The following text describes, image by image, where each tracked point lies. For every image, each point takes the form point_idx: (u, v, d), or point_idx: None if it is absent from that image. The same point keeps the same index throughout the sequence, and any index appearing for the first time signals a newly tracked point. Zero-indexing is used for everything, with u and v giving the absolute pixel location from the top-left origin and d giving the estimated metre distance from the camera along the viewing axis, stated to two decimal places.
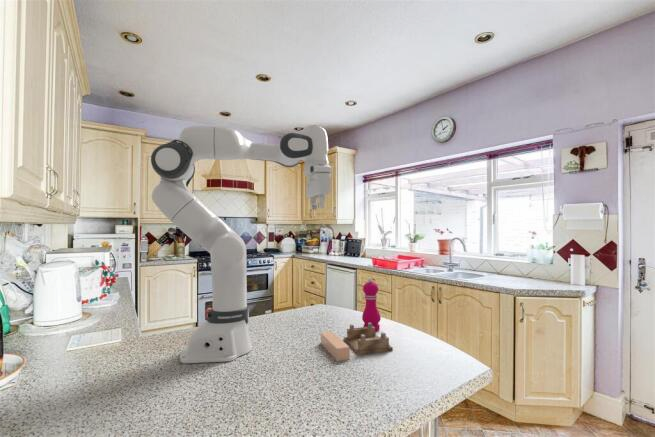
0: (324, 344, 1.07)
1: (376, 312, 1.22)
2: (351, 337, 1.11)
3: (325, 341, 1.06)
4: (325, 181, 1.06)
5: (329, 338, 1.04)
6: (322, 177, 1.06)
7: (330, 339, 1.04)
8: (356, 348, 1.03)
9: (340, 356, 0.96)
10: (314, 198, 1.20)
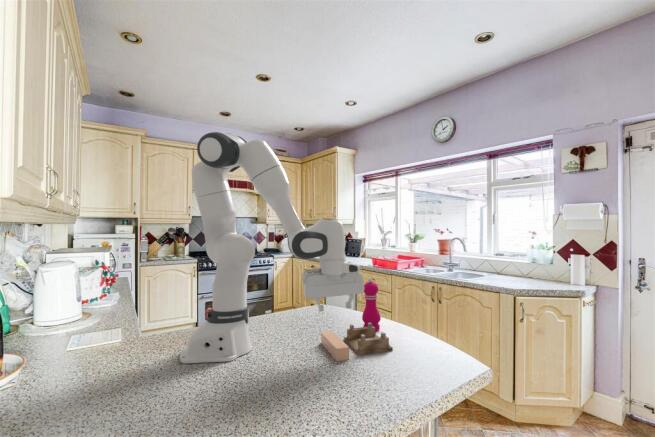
0: (324, 344, 1.07)
1: (376, 312, 1.22)
2: (351, 337, 1.11)
3: (325, 341, 1.06)
4: None
5: (329, 338, 1.04)
6: None
7: (330, 339, 1.04)
8: (356, 348, 1.03)
9: (340, 356, 0.96)
10: None
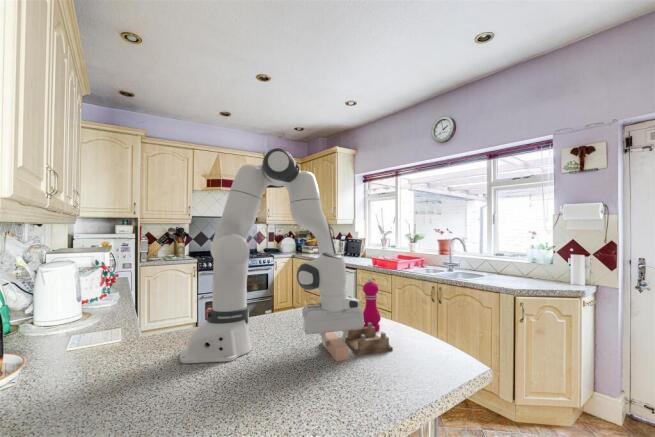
0: None
1: (376, 312, 1.22)
2: (351, 337, 1.11)
3: None
4: None
5: (330, 338, 1.04)
6: None
7: (330, 338, 1.04)
8: (356, 348, 1.03)
9: (339, 356, 0.96)
10: None
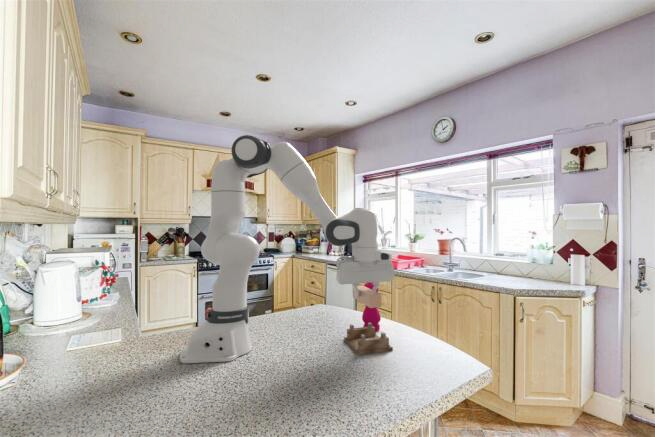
0: (356, 296, 1.12)
1: (376, 312, 1.22)
2: (351, 337, 1.11)
3: None
4: None
5: (361, 289, 1.09)
6: None
7: (362, 290, 1.08)
8: (356, 348, 1.03)
9: (373, 303, 1.00)
10: None
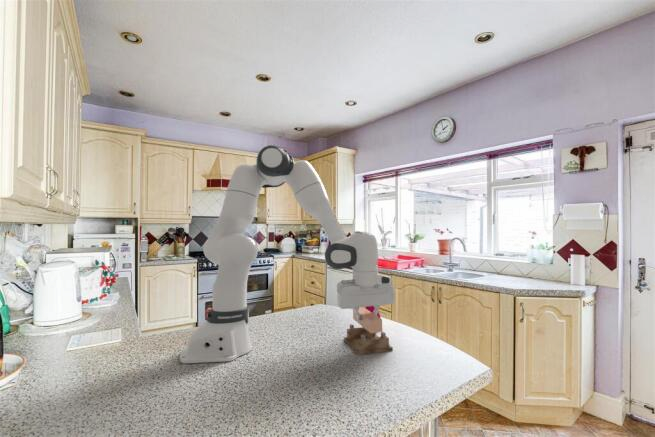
0: None
1: None
2: (351, 337, 1.11)
3: None
4: None
5: (362, 312, 1.09)
6: None
7: (363, 313, 1.09)
8: (356, 348, 1.03)
9: (373, 328, 1.01)
10: None
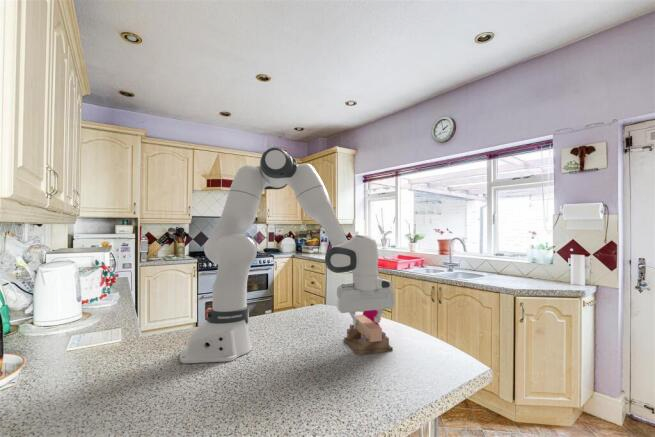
0: (357, 326, 1.12)
1: (376, 312, 1.22)
2: (351, 337, 1.11)
3: None
4: None
5: (362, 321, 1.09)
6: None
7: (363, 321, 1.08)
8: (356, 348, 1.03)
9: (373, 337, 1.00)
10: None
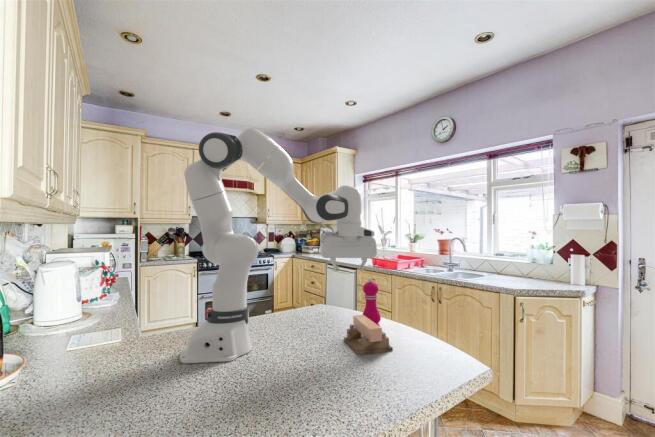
0: (357, 326, 1.12)
1: (376, 312, 1.22)
2: (351, 337, 1.11)
3: (358, 323, 1.11)
4: None
5: (362, 321, 1.09)
6: None
7: (363, 321, 1.08)
8: (356, 348, 1.03)
9: (373, 337, 1.00)
10: None
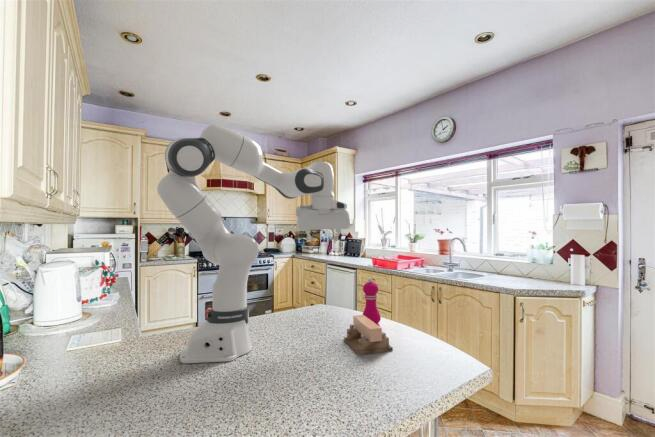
0: (357, 326, 1.12)
1: (376, 312, 1.22)
2: (351, 337, 1.11)
3: (358, 323, 1.11)
4: None
5: (362, 321, 1.09)
6: None
7: (363, 321, 1.08)
8: (356, 348, 1.03)
9: (373, 337, 1.00)
10: None
